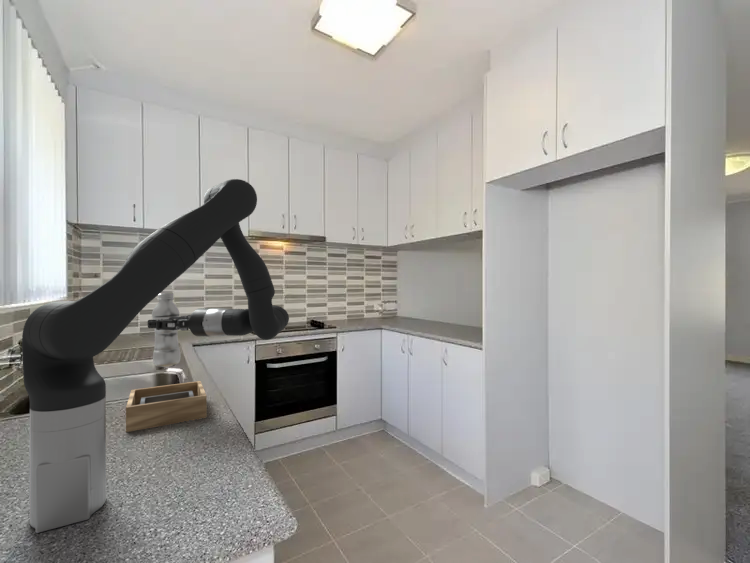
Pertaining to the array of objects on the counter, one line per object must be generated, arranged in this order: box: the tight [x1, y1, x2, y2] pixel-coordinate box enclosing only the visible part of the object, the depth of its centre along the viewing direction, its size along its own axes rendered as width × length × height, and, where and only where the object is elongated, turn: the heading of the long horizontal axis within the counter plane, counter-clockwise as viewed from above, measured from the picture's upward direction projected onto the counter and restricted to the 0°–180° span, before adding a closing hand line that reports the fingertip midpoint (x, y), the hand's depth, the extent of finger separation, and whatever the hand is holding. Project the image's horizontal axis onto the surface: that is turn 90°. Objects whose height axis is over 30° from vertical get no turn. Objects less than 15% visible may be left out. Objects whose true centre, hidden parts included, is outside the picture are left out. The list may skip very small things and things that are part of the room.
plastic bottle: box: [151, 292, 182, 368], centre depth 98 cm, size 6×7×20 cm
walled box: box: [125, 380, 208, 433], centre depth 100 cm, size 18×18×6 cm
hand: (158, 322), depth 99 cm, fingers closed on plastic bottle, 6 cm apart
